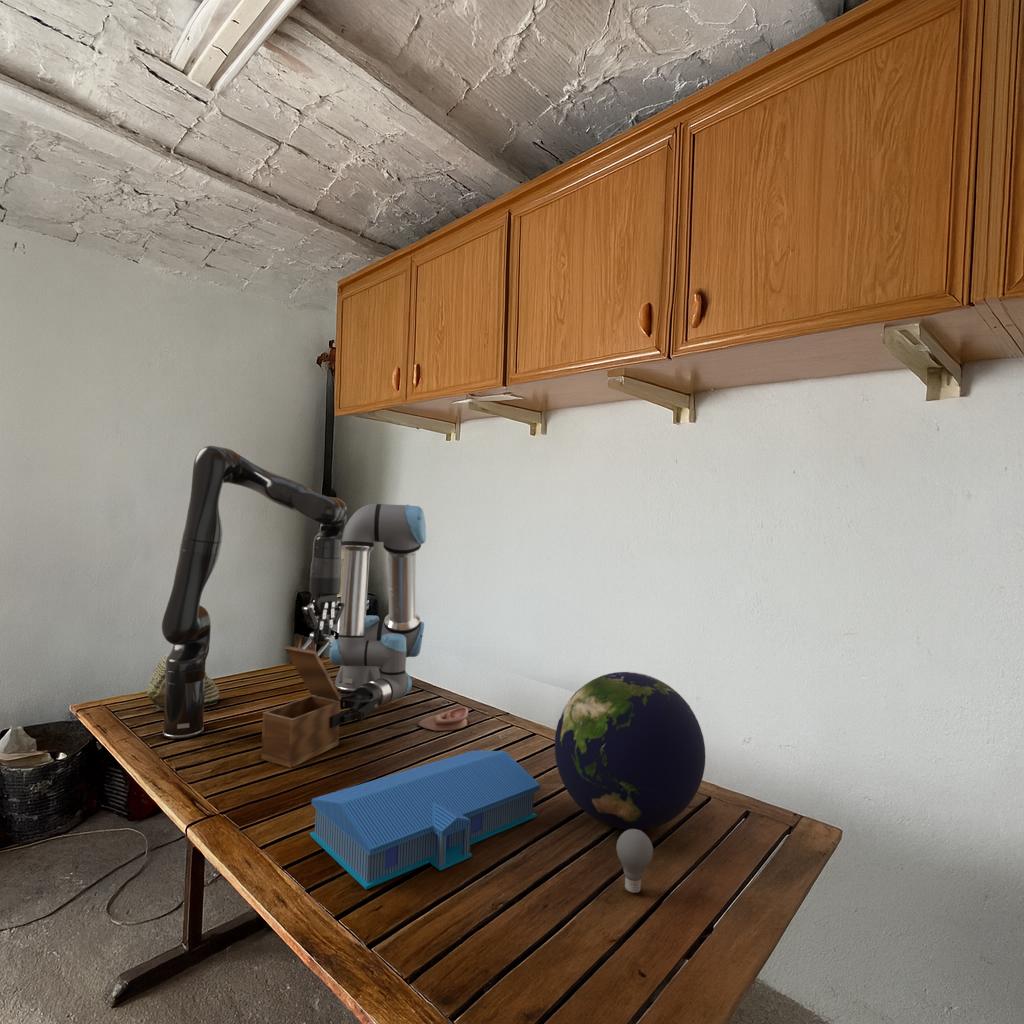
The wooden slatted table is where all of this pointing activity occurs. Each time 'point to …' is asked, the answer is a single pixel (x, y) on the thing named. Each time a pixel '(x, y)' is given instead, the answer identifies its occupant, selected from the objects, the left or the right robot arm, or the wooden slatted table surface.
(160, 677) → the fossil
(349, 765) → the wooden slatted table surface
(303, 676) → the lid
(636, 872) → the light bulb
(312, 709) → the chest
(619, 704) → the globe
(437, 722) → the anatomical model
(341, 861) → the model building
